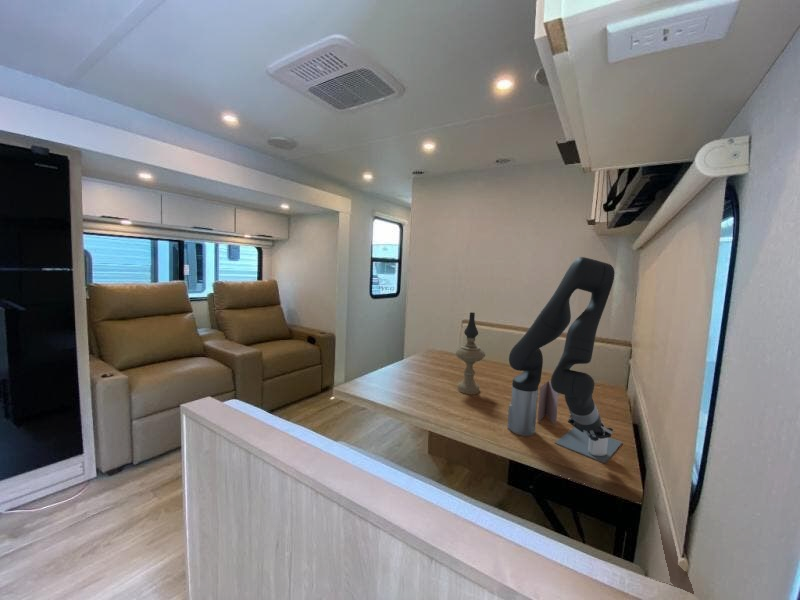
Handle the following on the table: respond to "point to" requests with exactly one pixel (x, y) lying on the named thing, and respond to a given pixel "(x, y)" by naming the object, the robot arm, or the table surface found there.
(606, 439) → the eye dropper bottle
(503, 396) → the table surface
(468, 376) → the oil lamp
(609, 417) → the table surface
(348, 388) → the table surface
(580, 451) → the mat
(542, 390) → the greeting card
